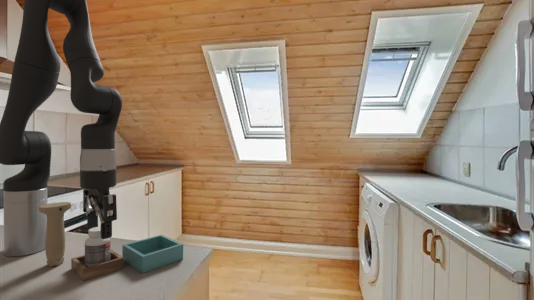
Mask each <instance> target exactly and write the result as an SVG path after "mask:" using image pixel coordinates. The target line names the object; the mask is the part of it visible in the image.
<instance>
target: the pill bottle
mask: <svg viewBox="0 0 534 300" xmlns="http://www.w3.org/2000/svg"><path fill="white" fill-rule="evenodd" d="M87 231H88V230H87ZM87 236H88V237H87V238H86V239H85V241H84V255H85V266H86V267H90V266H93V265H97V264H100V263H103V262H107V261H110V249H111V238H107V239H102V238H101V226H98V227H95V228H91V229H89V231H88V234H87Z"/></svg>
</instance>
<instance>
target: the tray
mask: <svg viewBox="0 0 534 300" xmlns="http://www.w3.org/2000/svg"><path fill="white" fill-rule="evenodd" d="M121 251H122V255H121V256H122V257H123V258H124V263H126V264H128V265H129V266H131V267H132V268H133V269H135V270H136V271H137V272H140V273H141V274H146V273H149V272H151V271H154V270H157V269H159V268H162V267H164V266H168V265H170V264H174V263H176V262H178V261H181V260H183V259H184V243H181V242H179V241H177V240H175V239H172V238H171V237H170V238H169V237H167V236H166V235H163V234H159V235H154V236H151V237H146V238H143V239H140V240H136V241H132V242H128V243H125V244H122V250H121Z"/></svg>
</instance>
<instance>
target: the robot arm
mask: <svg viewBox="0 0 534 300" xmlns="http://www.w3.org/2000/svg"><path fill="white" fill-rule="evenodd" d="M49 9H50V10H52V11H54V12H57V13H60V14H61V15H64V16H65V17H66V19H67V21H68V23H69V25H70V27H69V30H68V32H67V33H66V35H65V37H64V40H63V43H62V51H63V55H64V57H65V60H66V63H67V67H68V70H69V73H70V93H69V94H70V102H71V103H72V106H73V107H74V108H75V109H76V110H78V111H79V112H81V113H83V114H84V113H85V114H92V115H93V114H94V115H98V118H97V120H96V122H95V123H89V124H88V123H87V124H84V125H83V126H82V127H81V130H80V156H79V187H80V188H81V189H82V190H83V191H82V192H83V193H82V195H83V196H82V212H83V213H85V216H86V219H87V220H86V223H87V224H86V225H87V226H86V227H87V231H89V229H91V228H95V227H99V222H100V227H101V238H102V239H107V238H110V239H111V238H112V236H113V222H114V221H117V220H118V214H117V213H118V212H117V209H118V208H117V206H118V205H117V195H116V193H115V194H110V188H113V187H114V188H115V187H116V185H117V155H116V149H115V148H116V138H115V137H116V136H115V135H116V129H117V126H118V122H119V118H120V114H121V112H122V108H123V98H122V96H121V93H120V92H119V91H118V89H116V88H115V87H112V86H107V85H103V84H96V82H99V81H100V80H102V79H103V77H104V74H105V72H104V68H103V64H102V62H101V59H100V56H99V54H98V51H97V49H96V46H95V42H94V38H93V35H92V27H91V21H90V15H89V9H88V3H87V0H23V11H22V12H23V13H22V20H21V21H22V24H21V28H20V35H19V40H18V45H17V48H16V54H15V57H14V62H13V65H12V66H13V67H12V71H11V79H10V86H9V89H8V94H7V99H6V103H5V108H4V110H3V111H4V112H3V114H2V117H1V120H0V164H1V165H2V166H3V165H4V166H19V165H24V168H23V169H22V170H21V171H19V172H18V173H17V174H14V175H12V176H11V177H10V176H9V177H8V178H5V180H4V181H3V183H2V185H3V186H2V187H3V188H2V189H3V255H4V256H5V257H20V256H21V257H22V256H28V255H33V254H36V253H39V252H41V251H43V250H45V246H46V245H45V240H46V228H47V215H46V214H43V213H41V212H39V206H41V205H45V204H48V182H49V179H50V177H51V163H52V162H51V161H52V143H51V140H50V137H49V136H48V134H46V133H45V132H43V131H37V130H26V128H27V124H28V122H29V120H30V118H31V116H32V115H33V113H34V112H35V111H37V109H39V107H40V106H42V105H43V104H44V103H45V102H46V101H47V100H48V99H49V98H50V97H51V96H52V94H54V92H55V90H56V88H57V86H58V82H59V77H60V72H61V60H60V57H59V54H58V52H57V50H56V47H55V45H54V42H53V40H52V38H51V35H50V31H49V26H48V25H49V24H48V22H49V21H48V17H49Z"/></svg>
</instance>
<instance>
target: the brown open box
mask: <svg viewBox="0 0 534 300" xmlns="http://www.w3.org/2000/svg"><path fill="white" fill-rule="evenodd" d="M70 259H71V260H70V262H71V263H70V264H71V270H72V271H73V272H74V273H75V274H76V276H78V277H79V278H80V279H81V280H82V281H83V282H84V281H87V280H90V279H94V278H97V277H101V276H103V275H106V274H110V273H112V272H115V271H119V270H121V269H124V266H125V261H124V258H123V257H122V255H120V254H118V253H117V252H116V251H114V250H112V249H111V248H110V261H107V262H103V263H100V264H97V265H93V266H90V267H86V266H85V254H82V255H80V256H76V257H72V258H70Z"/></svg>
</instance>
